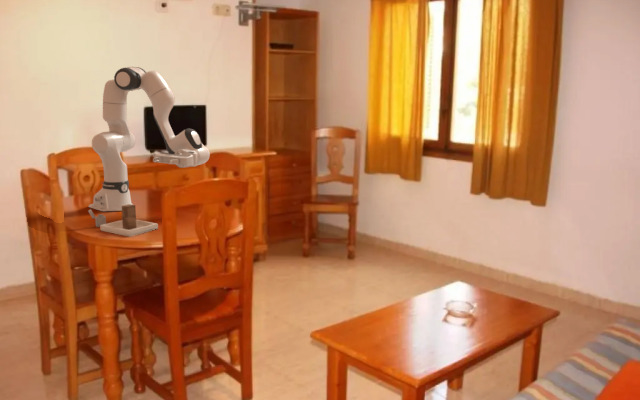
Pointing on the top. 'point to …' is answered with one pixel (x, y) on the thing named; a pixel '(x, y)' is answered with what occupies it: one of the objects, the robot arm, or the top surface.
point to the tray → (118, 229)
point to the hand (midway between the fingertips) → (161, 161)
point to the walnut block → (129, 216)
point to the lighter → (98, 218)
